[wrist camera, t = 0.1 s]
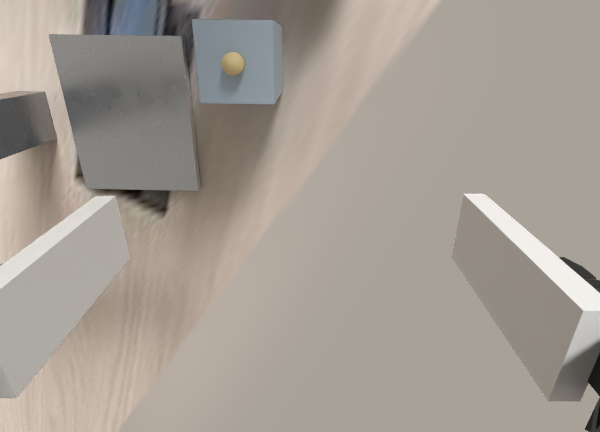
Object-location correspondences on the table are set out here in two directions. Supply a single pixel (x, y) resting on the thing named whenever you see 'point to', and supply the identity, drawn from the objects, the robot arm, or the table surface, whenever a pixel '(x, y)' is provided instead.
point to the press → (116, 111)
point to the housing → (238, 60)
